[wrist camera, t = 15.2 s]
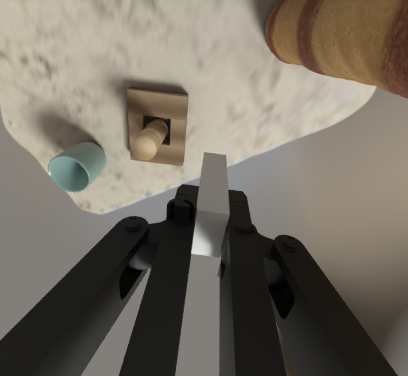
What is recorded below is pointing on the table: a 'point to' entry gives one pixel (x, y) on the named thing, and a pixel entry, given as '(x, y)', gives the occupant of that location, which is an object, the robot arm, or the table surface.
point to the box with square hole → (165, 108)
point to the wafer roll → (344, 39)
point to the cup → (77, 166)
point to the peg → (150, 139)
